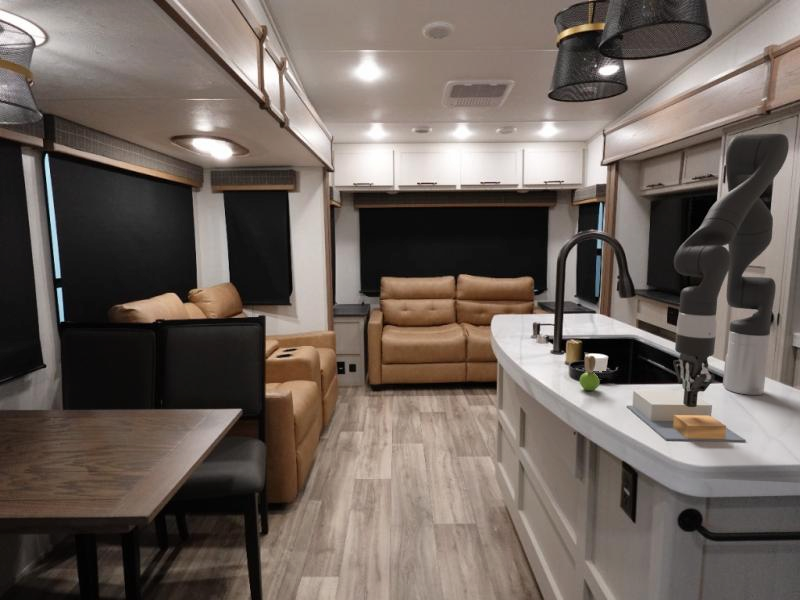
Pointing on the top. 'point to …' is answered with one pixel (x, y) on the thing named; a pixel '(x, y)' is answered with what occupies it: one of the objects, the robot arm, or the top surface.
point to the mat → (671, 433)
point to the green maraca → (589, 374)
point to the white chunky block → (599, 361)
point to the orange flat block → (699, 427)
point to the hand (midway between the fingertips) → (689, 405)
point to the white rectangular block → (667, 405)
